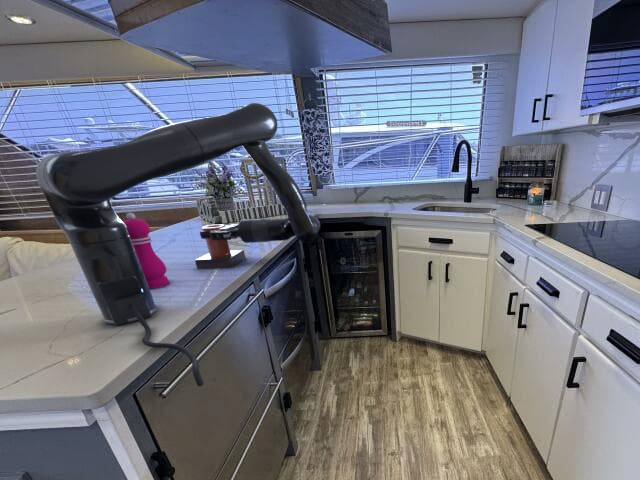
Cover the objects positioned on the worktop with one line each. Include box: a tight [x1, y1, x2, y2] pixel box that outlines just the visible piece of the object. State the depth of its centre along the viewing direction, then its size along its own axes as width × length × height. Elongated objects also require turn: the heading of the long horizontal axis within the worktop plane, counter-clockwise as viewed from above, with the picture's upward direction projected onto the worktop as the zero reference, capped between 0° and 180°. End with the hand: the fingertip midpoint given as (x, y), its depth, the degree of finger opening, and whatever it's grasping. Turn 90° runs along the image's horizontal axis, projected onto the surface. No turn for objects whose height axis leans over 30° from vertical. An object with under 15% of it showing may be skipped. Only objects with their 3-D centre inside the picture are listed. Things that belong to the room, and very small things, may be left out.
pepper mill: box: [122, 212, 170, 290], centre depth 87 cm, size 7×7×20 cm
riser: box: [194, 249, 246, 270], centre depth 108 cm, size 11×11×3 cm
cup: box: [201, 224, 231, 257], centre depth 106 cm, size 6×6×10 cm
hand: (208, 232), depth 105 cm, fingers open, 7 cm apart
